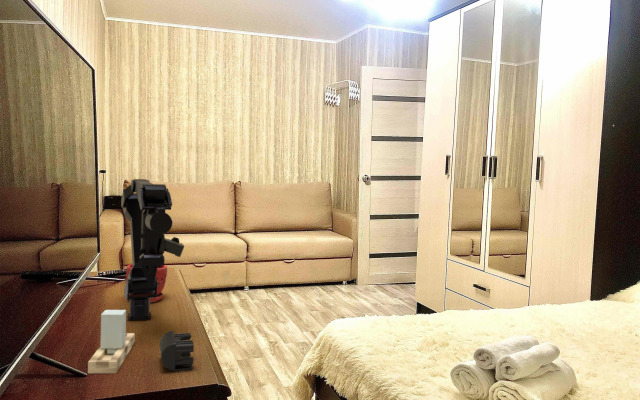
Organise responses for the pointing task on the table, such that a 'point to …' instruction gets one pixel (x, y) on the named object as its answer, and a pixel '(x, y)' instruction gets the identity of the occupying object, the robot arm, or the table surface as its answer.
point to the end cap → (177, 351)
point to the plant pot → (160, 278)
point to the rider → (113, 330)
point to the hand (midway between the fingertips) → (151, 286)
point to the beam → (110, 357)
